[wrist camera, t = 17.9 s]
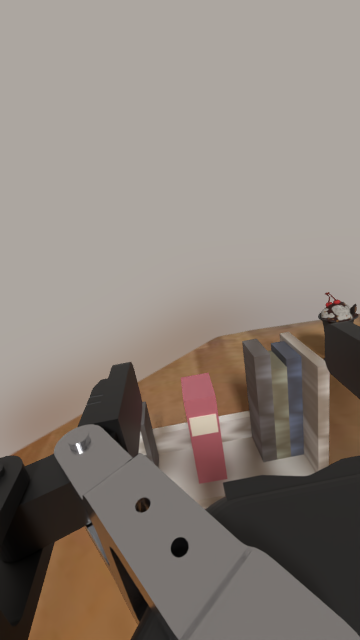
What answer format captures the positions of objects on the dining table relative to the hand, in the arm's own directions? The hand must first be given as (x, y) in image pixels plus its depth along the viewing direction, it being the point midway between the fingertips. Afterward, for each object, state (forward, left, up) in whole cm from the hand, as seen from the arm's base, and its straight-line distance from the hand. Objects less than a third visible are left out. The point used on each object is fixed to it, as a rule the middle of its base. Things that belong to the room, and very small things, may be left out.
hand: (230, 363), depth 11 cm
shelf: (+4, -17, -26) cm, 31 cm away
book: (+4, -18, -24) cm, 30 cm away
